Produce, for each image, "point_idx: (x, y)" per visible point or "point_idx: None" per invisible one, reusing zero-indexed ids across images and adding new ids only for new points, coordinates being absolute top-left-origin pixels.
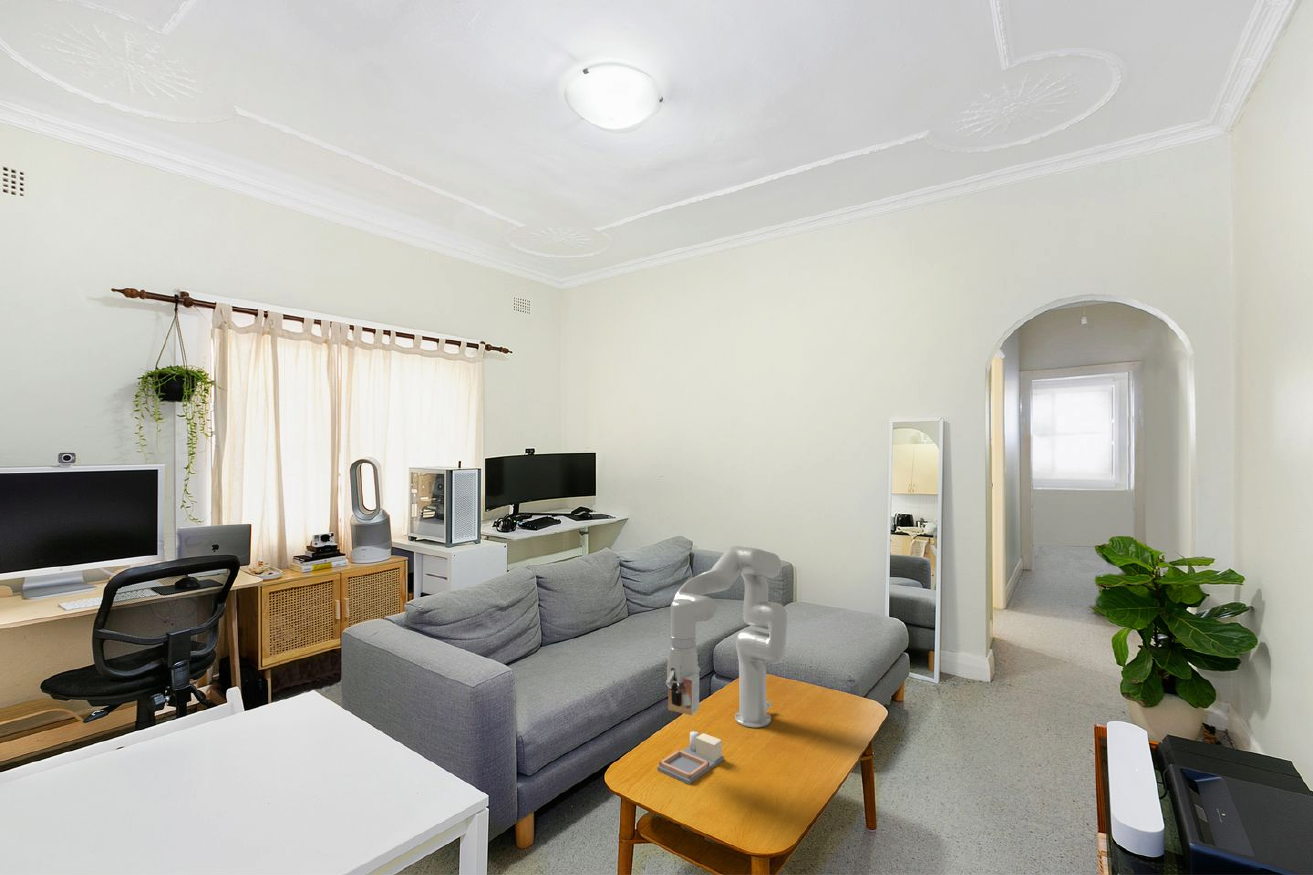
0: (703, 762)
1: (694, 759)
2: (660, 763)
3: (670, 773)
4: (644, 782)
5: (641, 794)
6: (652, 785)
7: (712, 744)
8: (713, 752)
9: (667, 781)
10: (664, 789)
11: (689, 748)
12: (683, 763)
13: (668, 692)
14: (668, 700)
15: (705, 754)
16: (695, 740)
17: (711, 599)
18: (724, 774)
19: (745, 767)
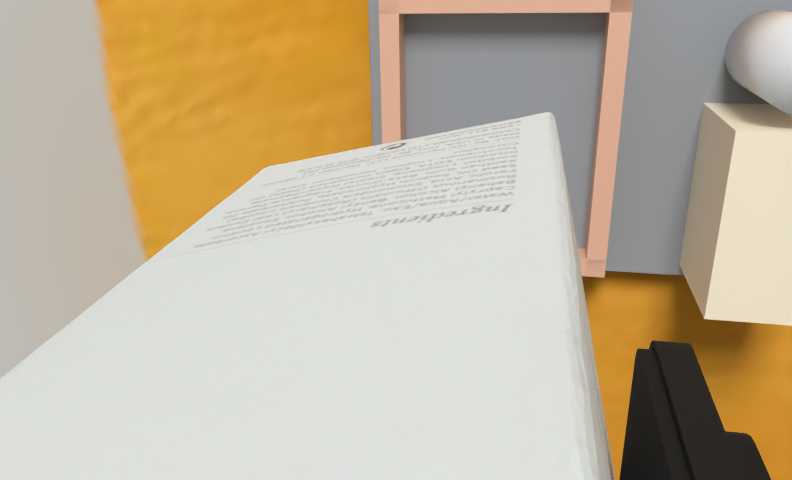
0: (587, 241)
1: (594, 162)
2: (379, 4)
3: (373, 109)
4: (213, 20)
5: (124, 92)
6: (227, 83)
7: (706, 301)
8: (691, 284)
9: (319, 128)
10: (248, 165)
11: (757, 6)
12: (524, 109)
13: (110, 291)
14: (202, 220)
15: (694, 199)
16: (760, 96)
17: None
18: (604, 355)
19: (756, 418)
